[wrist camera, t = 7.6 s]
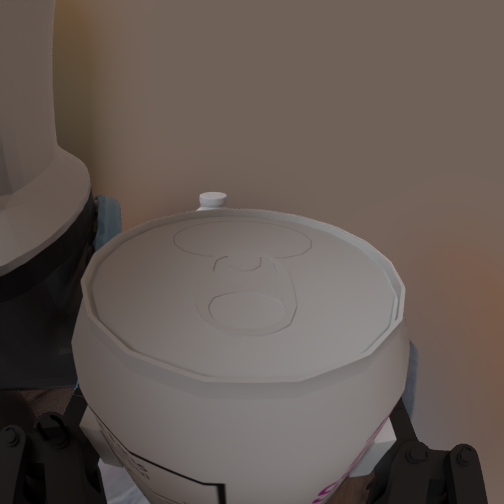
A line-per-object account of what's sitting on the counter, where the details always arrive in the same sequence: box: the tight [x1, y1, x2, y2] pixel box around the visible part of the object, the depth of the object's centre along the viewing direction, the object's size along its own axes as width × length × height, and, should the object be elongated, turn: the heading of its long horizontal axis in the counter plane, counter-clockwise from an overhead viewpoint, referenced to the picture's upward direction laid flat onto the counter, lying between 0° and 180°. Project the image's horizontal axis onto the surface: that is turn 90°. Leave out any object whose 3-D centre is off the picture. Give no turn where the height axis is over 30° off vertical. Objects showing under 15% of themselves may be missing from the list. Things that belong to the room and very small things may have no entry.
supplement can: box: [71, 208, 410, 504], centre depth 10 cm, size 8×8×15 cm
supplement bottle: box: [196, 192, 228, 211], centre depth 56 cm, size 7×7×13 cm
